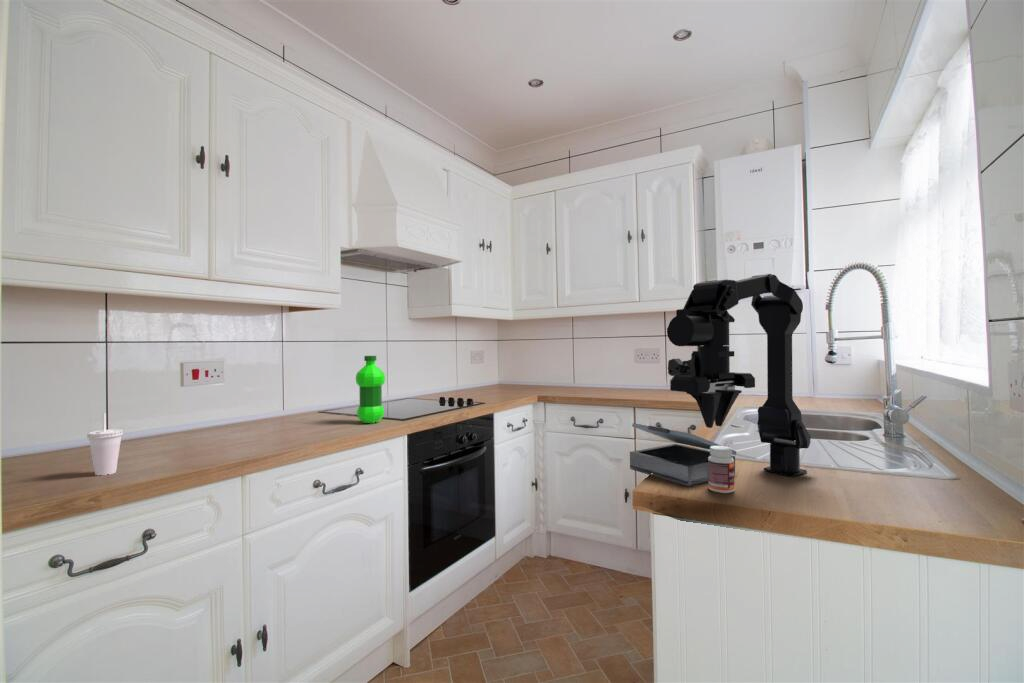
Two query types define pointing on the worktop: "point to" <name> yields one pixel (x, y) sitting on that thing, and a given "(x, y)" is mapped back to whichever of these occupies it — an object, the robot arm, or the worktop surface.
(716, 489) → the pill bottle
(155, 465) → the worktop surface
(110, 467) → the smoothie
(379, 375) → the plastic bottle
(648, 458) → the grey lidded case
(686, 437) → the lid
